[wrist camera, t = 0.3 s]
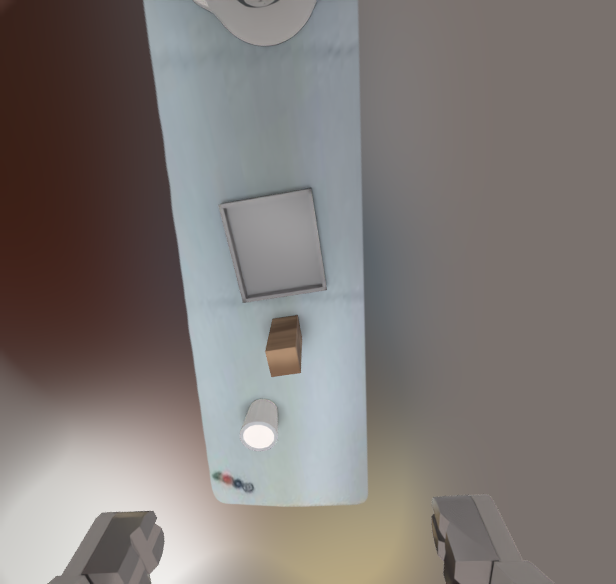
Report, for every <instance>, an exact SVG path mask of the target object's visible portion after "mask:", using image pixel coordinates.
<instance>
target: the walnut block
mask: <svg viewBox="0 0 616 584" xmlns="http://www.w3.org/2000/svg"><path fill="white" fill-rule="evenodd" d="M265 352H266V357H267V361H268V365H269V369H270V373H271V377H275V376H282V375H289V374H296V373H301V352H302V335H301V330H300V325H299V320H298V315H295V316H288V317H282V318H275V319H272V323H271V328H270V332H269V337H268V341H267V346H266V350H265Z"/></svg>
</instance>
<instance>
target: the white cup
mask: <svg viewBox="0 0 616 584" xmlns="http://www.w3.org/2000/svg"><path fill="white" fill-rule="evenodd" d="M240 440H241V442H242V443H243V445H244V446H246V447H247V448H248V449H251V450H254V451H265V450H269V449H271V448H272V447H273V446H275V444H276V442H277V440H278V416H277V407H276V405H275V404H274V403H273V402H272V401H270V400H267V399H258V400H255V401H254V402H253V403H251V405H250V407H249V410H248V413H247V415H246V418H245V420H244V423H243V426H242V428H241V431H240Z"/></svg>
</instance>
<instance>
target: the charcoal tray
mask: <svg viewBox="0 0 616 584" xmlns="http://www.w3.org/2000/svg"><path fill="white" fill-rule="evenodd" d="M218 206H219V210H220V214H221V218H222V222H223V226H224V229H225V233H226V237H227V241H228V245H229V249H230V253H231V257H232V261H233V265H234V269H235V273H236V277H237V281H238V285H239V289H240V293H241V297H242V301H243V303H246V302H252V301H259V300H265V299H272V298H278V297H285V296H291V295H298V294H304V293H311V292H317V291H323V290H327V287H326V281H325V274H324V268H323V262H322V255H321V249H320V242H319V236H318V229H317V223H316V217H315V210H314V204H313V197H312V191H311V188H308V189H302V190H296V191H290V192H284V193H279V194H273V195H267V196H261V197H255V198H250V199H244V200H238V201H232V202H226V203H222V204H220V205H218Z"/></svg>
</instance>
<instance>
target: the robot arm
mask: <svg viewBox="0 0 616 584" xmlns="http://www.w3.org/2000/svg"><path fill="white" fill-rule="evenodd" d="M193 1H194V2H195V3H196V4H198V5H199V6H201V7H203V8H204V9H206V10H208V11H210V12H212V13H213V14H214V15H215V16H216V17H217V18H218V19H219V20H220V21H221V23H222V24H223V25H224V26H225V27H226V28H227V29H228V30H229V31H230V32H231V33H232V34H233V35H235V36H236V37H238V38H239V39H241V40H243V41H245V42H247V43H250V44H253V45H259V46H271V45H276V44H279V43H282V42H284V41H286V40H288V39H290V38H291V37H293V36H294V35H295V34H296V33H297V32H299V30H300V29H301V28H302V27H303V26H304V25H305V23H306V22H307V20H308V19H309V17H310V15H311V13H312V11H313V9H314V6H315V3H316V1H317V0H193ZM432 508H433V511H434V514H433V515H432V517H431V518H432V519H431V525H432V533H433V538H434V543H435V547H436V550H437V554H438V556H439V557H440V558H441V559H442V560H443V561H444V571H443V573H444V578H445V582H446V584H555V583H554V582H553V581H551V580H550V579H549V578H548V577H547V576H546V575H545V574H544V573H543V572H541V571H540V570H539V569H538V568H537V567H536V566H535V565H534V564H533V563H531V562H530V561H523V559H522V557H521V555H520V553H519V551H518V549H517V547H516V545H515V543H514V541H513V539H512V537H511V535H510V533H509V531H508V529H507V527H506V525H505V523H504V521H503V518H502V516H501V514H500V512H499V510H498V508H497V507H496V504H495V502H494V500H493V498H492V497H490V495H488V494H482V495H457V496H442V497H433V499H432ZM156 519H157V517H156V515H155V513H154V511H138V512H137V511H136V512H107V513H101V514H100V515H99V516H98V517H97V518H96V519H95V521H94V523H93V524H92V526H91V528H90V529H89V531H88V533H87V534H86V536H85V537H84V539H83V541H82V542H81V544H80V546H79V547H78V549H77V551H76V552H75V554H74V556H73V557H72V559H71V561H70V562H69V564H68V566H67V567H66V569H65V571H64V572H63V574H62V575H61V576H56V577H55V578H54V579H53V580H51V581H50V582H49V583H48V584H151V579H150V573H151V572H152V571H153V570H154V569H155V568H156V567H157V566H158V564H159V561H160V559H161V556H162V553H163V547H164V533H163V531H162V528H161V527H159V526H158V525H156V524H155V522H156Z"/></svg>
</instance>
